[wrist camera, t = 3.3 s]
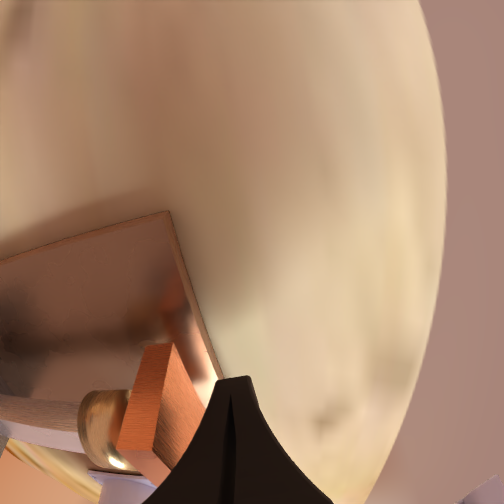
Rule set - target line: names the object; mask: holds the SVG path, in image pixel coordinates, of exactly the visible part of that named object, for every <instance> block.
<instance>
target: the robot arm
mask: <svg viewBox="0 0 504 504" xmlns="http://www.w3.org/2000/svg"><path fill="white" fill-rule="evenodd" d="M87 474H88V475H89V476H91V477H92V478H93V479H94V480H96V481H97V482H98V483H99V484H101V485H102V489H101V494H100V498H99V503H98V504H334V503H333V502H332V501H331V499H330V498H328V497H327V496H326V495H325V494H324V493H323V492H322V491H321V490H320V489H318V488H317V487H316V486H315V485H314V484H313V483H312V482H311V481H310V480H309V479H308V478H307V477H306V476H305V474H304V473H303V472H302V471H301V470H300V469H299V468H298V466H297V465H296V464H295V463H294V462H293V461H292V459H291V458H290V457H289V456H288V454H287V453H286V452H285V450H284V449H283V447H282V446H281V445H280V443H279V442H278V440H277V439H276V437H275V436H274V434H273V432H272V431H271V429H270V427H269V426H268V424H267V422H266V420H265V418H264V416H263V414H262V412H261V410H260V408H259V404H258V400H257V397H256V394H255V390H254V387H253V384H252V380H251V377H250V376H247V375H246V376H240V377H234V378H228V379H221V380H217V381H216V382H215V385H214V388H213V391H212V394H211V397H210V400H209V403H208V405H207V408H206V410H205V413H204V415H203V417H202V420H201V422H200V424H199V426H198V428H197V430H196V432H195V434H194V436H193V438H192V440H191V442H190V444H189V446H188V447H187V449H186V451H185V452H184V454H183V455H182V457H181V458H180V460H179V461H178V463H177V464H176V466H175V467H174V468H173V470H172V471H171V472H170V474H169V475H168V476H167V477H166V479H165V480H164V481H163V482H162V483H161V484H160V485H159V486H158V488H157V487H156V486H155V485H154V484H153V483H151V482H150V481H149V480H148V479H147V478H146V477H145V476H134V475H123V474H113V473H105V472H98V471H91V470H88V472H87ZM454 504H504V485H503V483H502V482H501V480H500V478H499V476H498V475H497V474H495V475H494V476H492V477H491V478H490V479H488V480H487V481H485V482H484V483H482V484H481V485H479V486H478V487H476V488H475V489H473V490H472V491H470V492H469V493H468V494H466V495H465V496H464V498H462V499H461V500H459V501H458V502H456V503H454Z"/></svg>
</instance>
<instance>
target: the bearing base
mask: <svg viewBox="0 0 504 504" xmlns="http://www.w3.org/2000/svg"><path fill="white" fill-rule="evenodd" d="M171 342H173V343H174V345H175V347H176V350H177V352H178V354H179V356H180V358H181V361H182V363H183V365H184V367H185V369H186V371H187V373H188V376H189V378H190V380H191V382H192V384H193V386H194V388H195V390H196V392H197V394H198V396H199V398H200V400H201V402H202V404H203V406H204V408H205V409H206V408H207V405H208V403H209V400H210V397H211V394H212V391H213V388H214V385H215V382H216V381H217V380H221V379H224V377H223V374H222V371H221V369H220V366H219V363H218V361H217V358H216V355H215V353H214V350H213V347H212V344H211V342H210V339H209V336H208V333H207V330H206V328H205V325H204V322H203V319H202V316H201V313H200V310H199V307H198V304H197V301H196V298H195V295H194V292H193V289H192V286H191V283H190V280H189V277H188V273H187V270H186V267H185V264H184V260H183V257H182V254H181V251H180V247H179V244H178V240H177V237H176V234H175V230H174V227H173V223H172V220H171V216H170V212H169V211H165V212H161V213H157V214H153V215H149V216H145V217H141V218H137V219H134V220H130V221H126V222H122V223H119V224H115V225H112V226H108V227H105V228H101V229H98V230H94V231H91V232H87V233H84V234H81V235H77V236H74V237H71V238H67V239H64V240H61V241H58V242H55V243H51V244H48V245H45V246H42V247H39V248H36V249H33V250H30V251H27V252H24V253H21V254H18V255H15V256H13V257H10V258H7V259H4V260H1V261H0V394H1V395H8V396H15V397H24V398H33V399H44V400H58V401H78V402H82V400H83V398H84V397H85V395H86V394H88V393H89V392H91V391H94V390H123V389H128V390H132V389H133V385H134V382H135V379H136V375H137V372H138V369H139V366H140V363H141V360H142V357H143V353H144V350H145V347H146V346H148V345H156V344H164V343H171ZM8 439H9V437H6V436H3V435H0V457H1V455H2V452H3V450H4V448H5V446H6V444H7V442H8Z"/></svg>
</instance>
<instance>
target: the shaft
mask: <svg viewBox="0 0 504 504" xmlns="http://www.w3.org/2000/svg"><path fill="white" fill-rule="evenodd" d="M205 410H206V409H205V408H204V406H203V404H202V402H201V400H200V398H199V396H198V394H197V392H196V390H195V388H194V386H193V384H192V382H191V380H190V378H189V376H188V373H187V371H186V369H185V367H184V365H183V363H182V361H181V358H180V356H179V354H178V352H177V350H176V347H175V345H174V343H173V342H171V343H164V344H156V345H148V346H146V347H145V350H144V353H143V357H142V360H141V363H140V366H139V369H138V372H137V375H136V379H135V382H134V385H133V389H132V390H128V389H123V390H94V391H91V392H89V393H88V394H86V395H85V397H84V398H83V400H82V402H78V401H58V400H44V399H33V398H24V397H15V396H8V395H1V394H0V435H3V436H6V437H9V438H13V439H16V440H20V441H24V442H28V443H32V444H36V445H40V446H45V447H50V448H55V449H60V450H65V451H71V452H78V453H85V454H86V455H87V456H88V458H89V459H90V460H91V461H92V462H93V463H94V464H96V465H97V466H99V467H102V468H109V469H119V470H130V471H139V472H140V473H141V474H142V475H143V476H145V477H146V478H147V479H148V480H149V481H150V482H151V483H153V484H154V485H155V486H156V487H157V488H158V486H159V485H160V484H161V483H162V482H163V481H164V480H165V479H166V477H167V476H168V475H169V474H170V472H171V471H172V470H173V468H174V467H175V466H176V464H177V463H178V461H179V460H180V458H181V457H182V455H183V454H184V452H185V451H186V449H187V447H188V446H189V444H190V442H191V440H192V438H193V436H194V434H195V432H196V430H197V428H198V426H199V424H200V422H201V420H202V417H203V415H204V413H205Z"/></svg>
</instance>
